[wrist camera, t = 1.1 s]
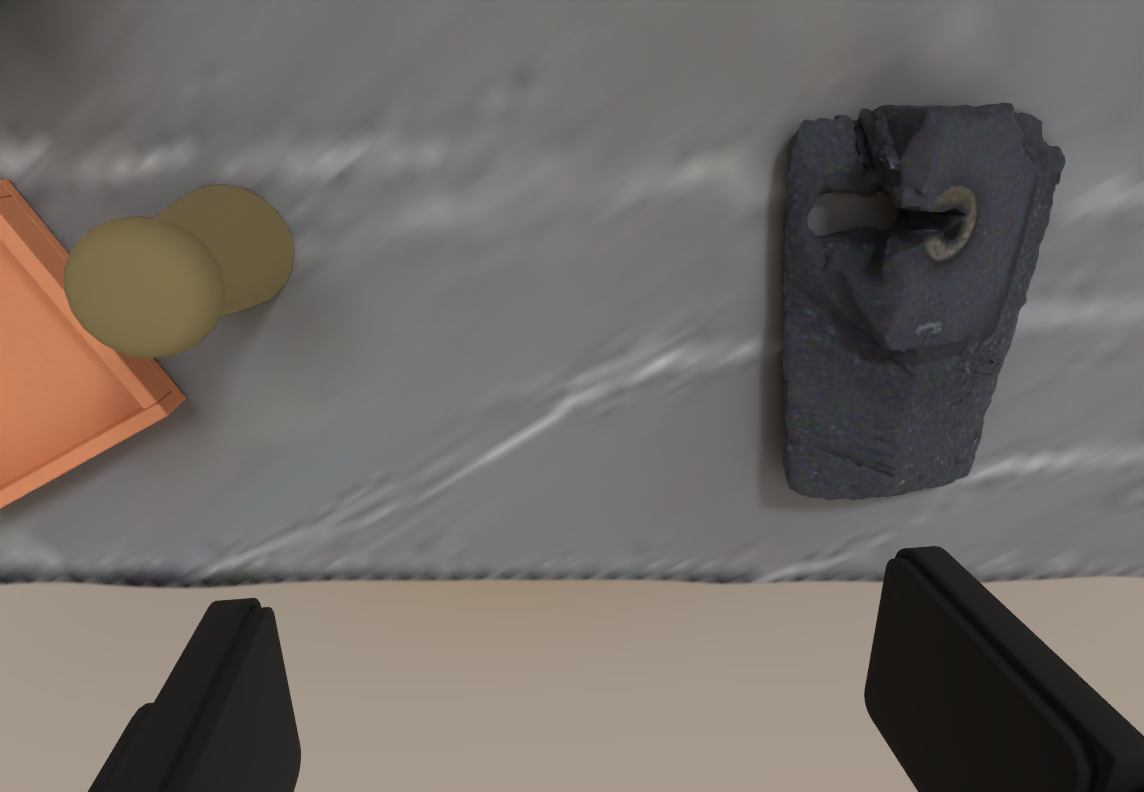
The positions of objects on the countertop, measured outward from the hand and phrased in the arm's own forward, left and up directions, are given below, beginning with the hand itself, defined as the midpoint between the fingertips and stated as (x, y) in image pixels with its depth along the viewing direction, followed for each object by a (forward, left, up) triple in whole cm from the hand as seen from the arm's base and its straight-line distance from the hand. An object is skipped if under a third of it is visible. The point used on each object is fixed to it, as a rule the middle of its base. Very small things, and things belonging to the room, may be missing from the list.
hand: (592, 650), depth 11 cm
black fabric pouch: (+12, +17, -29) cm, 36 cm away
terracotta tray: (-9, -25, -28) cm, 39 cm away
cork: (-8, -12, -29) cm, 32 cm away
